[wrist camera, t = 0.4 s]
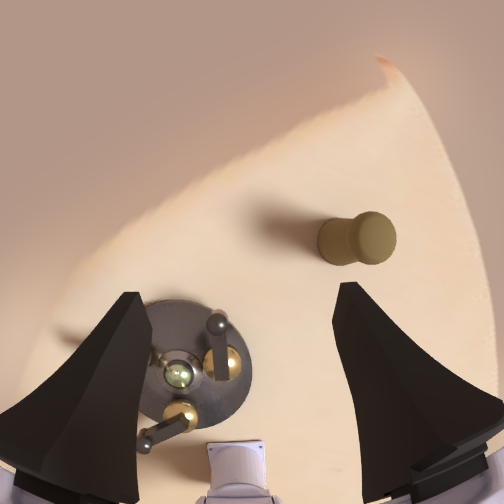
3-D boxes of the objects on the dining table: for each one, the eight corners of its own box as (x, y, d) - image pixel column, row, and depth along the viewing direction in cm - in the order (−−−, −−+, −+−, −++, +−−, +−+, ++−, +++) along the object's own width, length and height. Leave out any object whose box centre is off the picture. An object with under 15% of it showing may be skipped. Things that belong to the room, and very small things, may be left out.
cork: (307, 241, 37) (337, 236, 26) (339, 208, 37) (377, 191, 26) (339, 275, 37) (379, 283, 26) (369, 242, 37) (415, 238, 26)
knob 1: (185, 392, 34) (178, 411, 29) (205, 417, 35) (202, 438, 29) (135, 418, 34) (124, 437, 29) (155, 440, 34) (146, 461, 29)
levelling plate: (255, 423, 36) (257, 434, 33) (129, 422, 35) (123, 432, 32) (247, 296, 36) (248, 300, 33) (108, 301, 35) (98, 305, 32)
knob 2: (242, 375, 35) (243, 392, 30) (206, 376, 35) (202, 394, 29) (237, 305, 35) (237, 313, 30) (199, 307, 35) (194, 316, 30)
